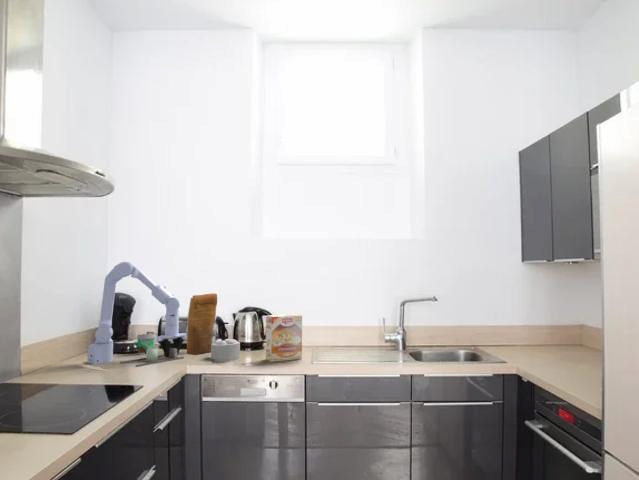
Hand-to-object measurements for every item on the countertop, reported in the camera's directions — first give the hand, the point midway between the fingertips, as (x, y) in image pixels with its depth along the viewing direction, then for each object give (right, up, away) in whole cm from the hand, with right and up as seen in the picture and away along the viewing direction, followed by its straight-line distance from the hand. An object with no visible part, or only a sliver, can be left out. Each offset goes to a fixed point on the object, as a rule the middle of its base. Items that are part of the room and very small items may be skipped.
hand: (171, 355), depth 220 cm
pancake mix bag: (+9, -3, +17) cm, 20 cm away
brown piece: (-4, -1, -5) cm, 7 cm away
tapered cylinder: (-6, 0, -8) cm, 10 cm away
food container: (-14, -3, +12) cm, 19 cm away
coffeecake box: (+49, -2, +1) cm, 50 cm away
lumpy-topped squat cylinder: (+23, -2, +1) cm, 23 cm away
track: (-6, -1, -8) cm, 10 cm away
